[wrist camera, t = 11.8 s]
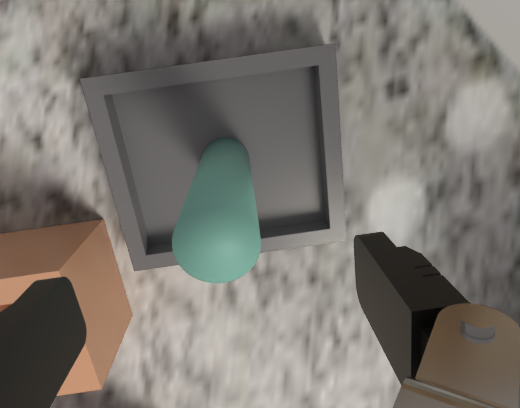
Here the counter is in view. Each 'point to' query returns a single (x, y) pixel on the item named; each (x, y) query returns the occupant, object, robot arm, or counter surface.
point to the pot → (84, 283)
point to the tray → (217, 126)
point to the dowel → (219, 216)
